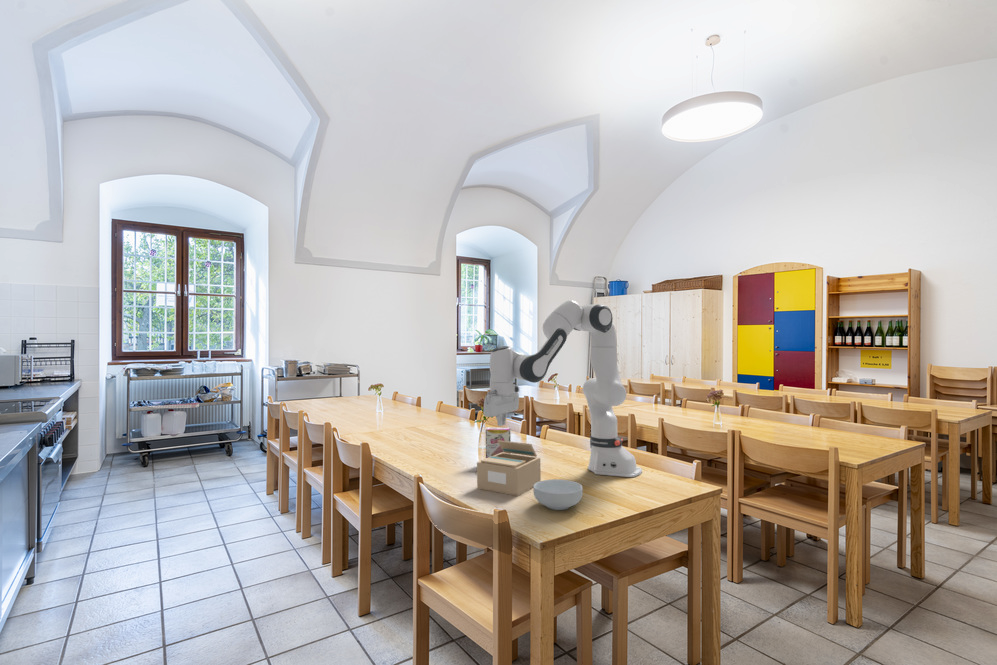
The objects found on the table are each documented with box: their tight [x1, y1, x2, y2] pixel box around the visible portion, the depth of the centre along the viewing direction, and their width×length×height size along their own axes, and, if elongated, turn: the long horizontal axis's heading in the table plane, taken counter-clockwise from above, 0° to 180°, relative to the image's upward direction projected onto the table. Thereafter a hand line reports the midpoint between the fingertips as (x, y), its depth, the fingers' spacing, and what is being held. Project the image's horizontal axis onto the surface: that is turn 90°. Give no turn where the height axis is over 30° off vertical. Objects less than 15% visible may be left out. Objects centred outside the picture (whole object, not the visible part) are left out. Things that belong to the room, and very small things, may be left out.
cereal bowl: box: [532, 478, 584, 511], centre depth 172 cm, size 17×17×7 cm
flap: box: [480, 456, 526, 467], centre depth 191 cm, size 15×8×1 cm, turn 58°
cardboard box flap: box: [498, 440, 538, 457], centre depth 200 cm, size 15×7×1 cm
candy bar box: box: [485, 427, 512, 459], centre depth 226 cm, size 11×5×16 cm, turn 84°
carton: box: [476, 452, 542, 497], centre depth 195 cm, size 18×18×10 cm
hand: (501, 425), depth 191 cm, fingers closed
